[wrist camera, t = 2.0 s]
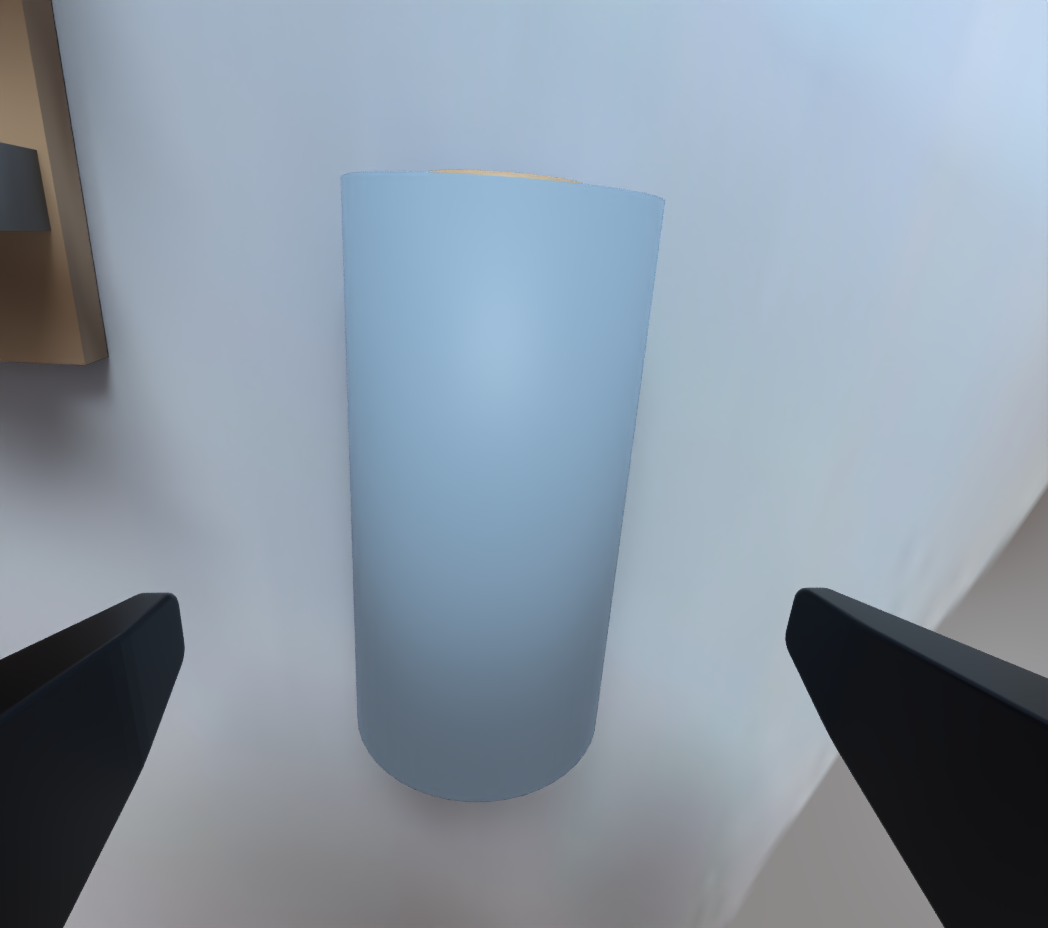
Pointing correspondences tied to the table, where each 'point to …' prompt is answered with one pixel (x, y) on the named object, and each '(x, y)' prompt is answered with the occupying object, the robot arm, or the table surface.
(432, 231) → the roll
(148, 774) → the table surface
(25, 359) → the holder
